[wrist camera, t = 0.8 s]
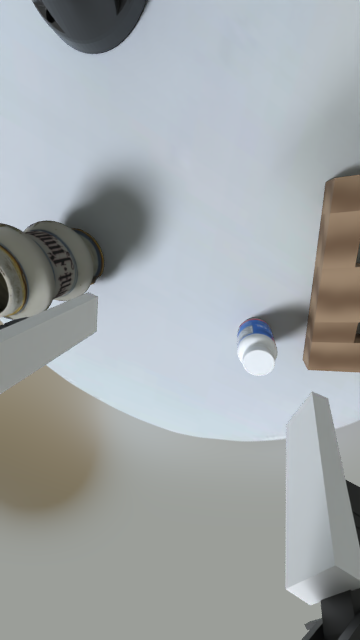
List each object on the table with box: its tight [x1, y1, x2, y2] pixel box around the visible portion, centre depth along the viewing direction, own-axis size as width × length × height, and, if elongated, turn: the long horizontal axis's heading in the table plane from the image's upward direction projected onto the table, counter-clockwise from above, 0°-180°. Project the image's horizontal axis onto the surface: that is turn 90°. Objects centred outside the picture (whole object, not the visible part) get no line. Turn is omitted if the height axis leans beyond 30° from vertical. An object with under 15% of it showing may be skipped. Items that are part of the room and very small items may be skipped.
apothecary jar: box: [0, 221, 104, 320], centre depth 32 cm, size 12×12×18 cm
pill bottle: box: [237, 318, 277, 376], centre depth 34 cm, size 6×5×10 cm
